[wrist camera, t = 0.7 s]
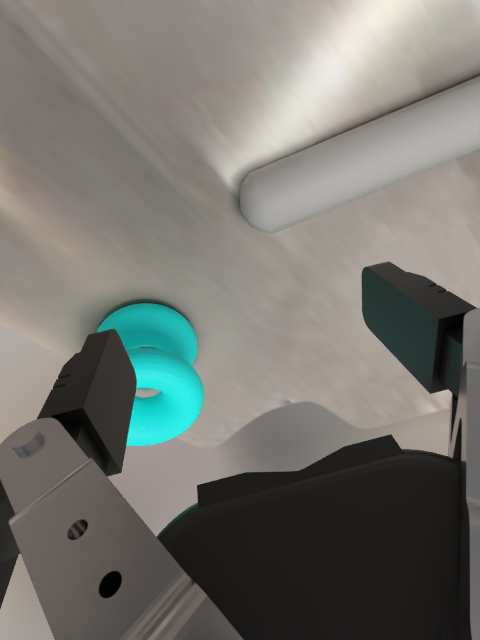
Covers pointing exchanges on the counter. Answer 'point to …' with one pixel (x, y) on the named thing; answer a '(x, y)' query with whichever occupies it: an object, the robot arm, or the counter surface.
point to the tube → (364, 159)
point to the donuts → (159, 370)
